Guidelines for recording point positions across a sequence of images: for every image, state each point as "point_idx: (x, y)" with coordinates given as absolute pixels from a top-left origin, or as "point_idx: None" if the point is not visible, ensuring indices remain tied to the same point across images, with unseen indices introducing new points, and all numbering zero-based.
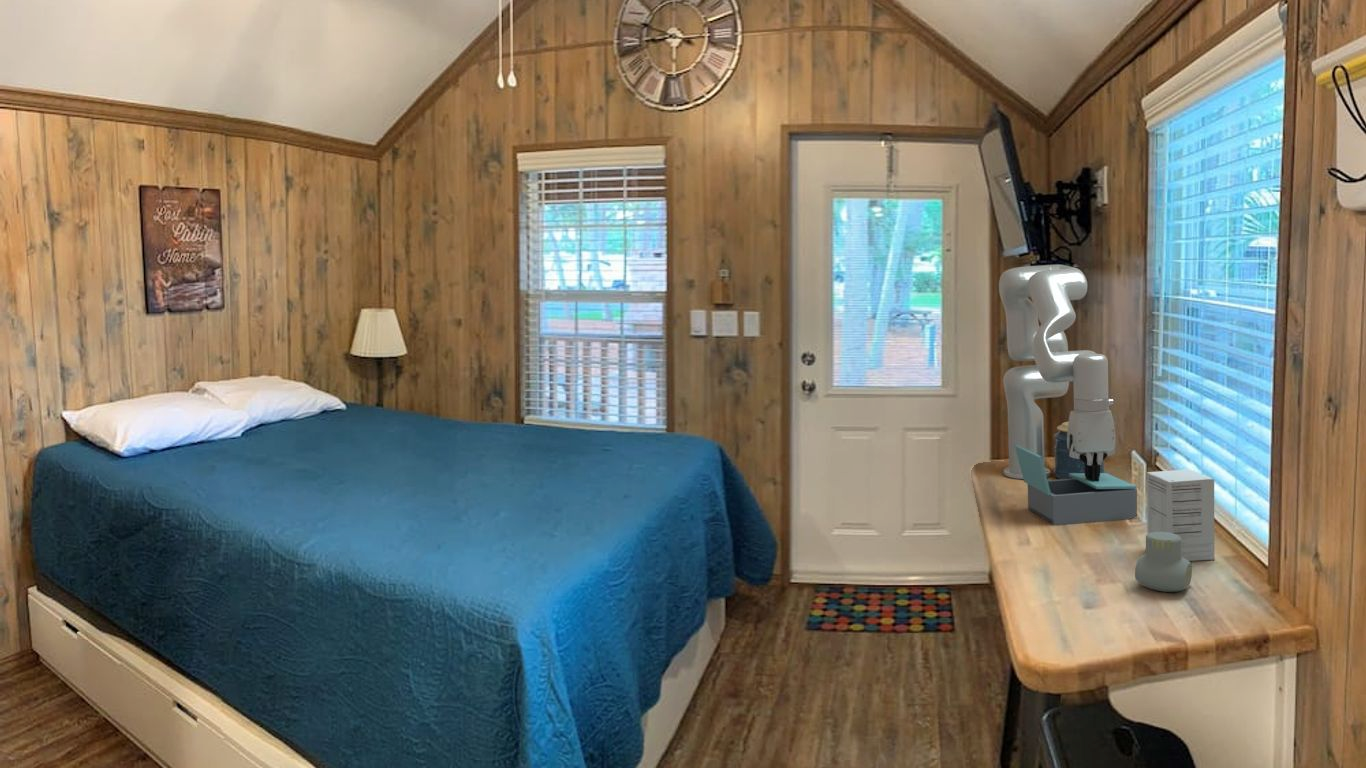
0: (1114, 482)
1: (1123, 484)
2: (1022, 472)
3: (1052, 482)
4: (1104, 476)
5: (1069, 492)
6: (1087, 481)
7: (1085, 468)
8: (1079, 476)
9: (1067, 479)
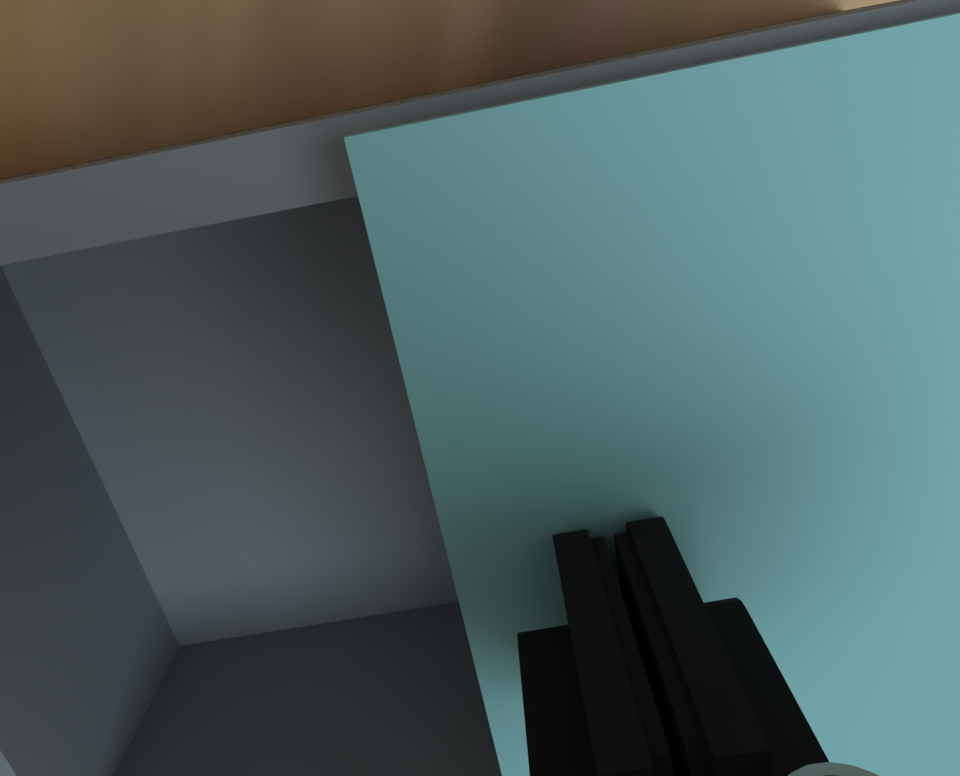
0: (871, 673)
1: (925, 746)
2: None
3: (58, 253)
4: (949, 317)
5: None
6: (505, 700)
7: (533, 773)
8: (484, 405)
9: (325, 161)
